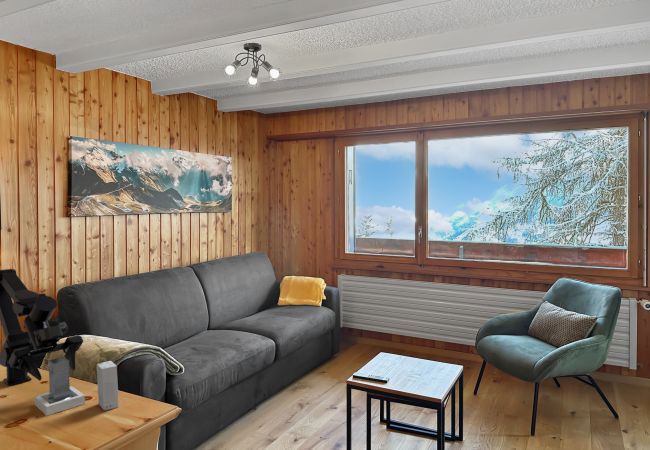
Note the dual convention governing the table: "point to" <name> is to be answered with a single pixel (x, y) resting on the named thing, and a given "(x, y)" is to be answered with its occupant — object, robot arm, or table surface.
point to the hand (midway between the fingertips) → (57, 374)
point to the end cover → (59, 380)
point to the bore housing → (49, 409)
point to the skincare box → (107, 385)
